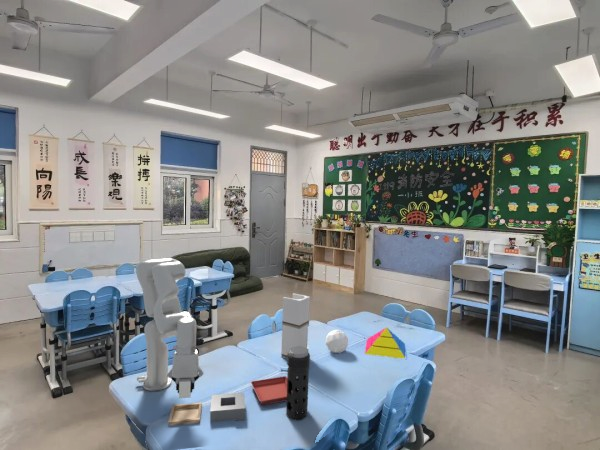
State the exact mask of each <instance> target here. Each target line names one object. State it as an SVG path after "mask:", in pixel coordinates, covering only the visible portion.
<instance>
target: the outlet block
mask: <svg viewBox="0 0 600 450" xmlns="http://www.w3.org/2000/svg"><path fill="white" fill-rule="evenodd" d="M245 397H246V396H245V392H235V393H220V394H211V399H210V408H209V409H210V413H209V415H210V416H209V418H210V419H209V420H210V423H212V422H224V421H233V420H234V421H237V422H238V421H246V398H245Z"/></svg>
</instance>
